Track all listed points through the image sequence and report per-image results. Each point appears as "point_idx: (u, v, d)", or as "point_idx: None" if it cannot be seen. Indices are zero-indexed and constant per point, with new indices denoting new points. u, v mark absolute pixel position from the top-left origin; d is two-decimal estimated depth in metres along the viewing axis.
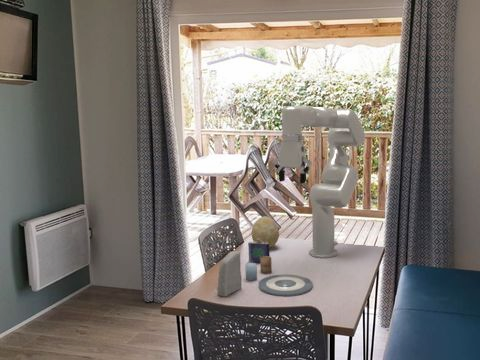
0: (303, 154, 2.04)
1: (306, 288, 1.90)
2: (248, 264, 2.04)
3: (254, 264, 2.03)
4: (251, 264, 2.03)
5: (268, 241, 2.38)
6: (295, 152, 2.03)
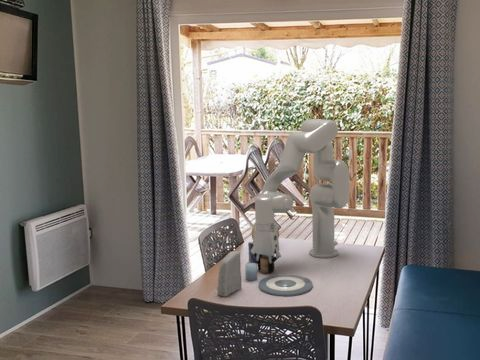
0: (276, 242, 2.07)
1: (306, 288, 1.90)
2: (248, 264, 2.04)
3: (254, 264, 2.03)
4: (251, 264, 2.03)
5: None
6: (267, 241, 2.06)
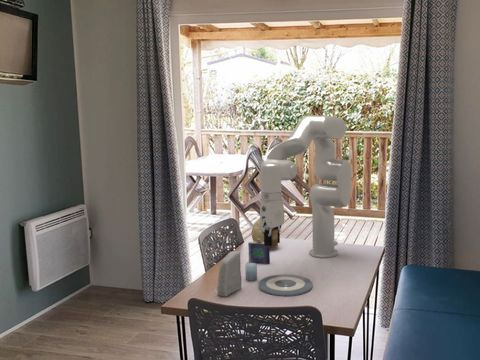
0: (264, 214, 1.91)
1: (306, 288, 1.90)
2: (248, 264, 2.04)
3: (254, 264, 2.03)
4: (252, 264, 2.03)
5: None
6: None
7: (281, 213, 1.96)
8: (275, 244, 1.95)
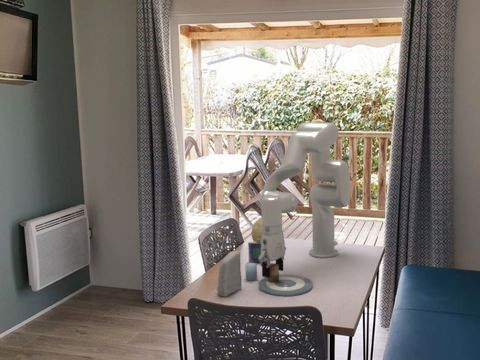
0: (265, 247, 1.93)
1: (306, 288, 1.90)
2: (248, 264, 2.04)
3: (254, 264, 2.03)
4: (252, 264, 2.03)
5: None
6: None
7: (282, 245, 1.97)
8: (276, 279, 1.98)
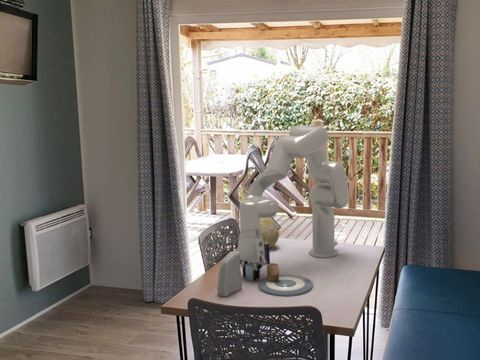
0: (261, 249, 1.99)
1: (306, 288, 1.90)
2: (248, 264, 2.04)
3: None
4: (251, 264, 2.03)
5: (268, 241, 2.38)
6: (252, 247, 1.99)
7: None
8: (276, 279, 1.98)
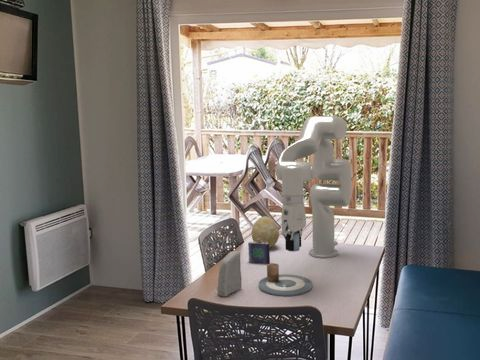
0: (286, 218, 1.85)
1: (306, 288, 1.90)
2: (293, 233, 1.91)
3: (293, 234, 1.89)
4: None
5: (268, 241, 2.38)
6: None
7: (303, 216, 1.90)
8: (276, 279, 1.98)
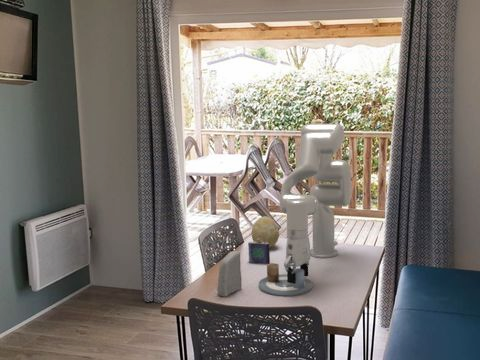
0: (290, 252, 1.86)
1: (306, 288, 1.90)
2: (298, 269, 1.93)
3: (298, 271, 1.90)
4: (297, 270, 1.91)
5: (268, 241, 2.38)
6: None
7: (307, 250, 1.91)
8: (276, 279, 1.98)
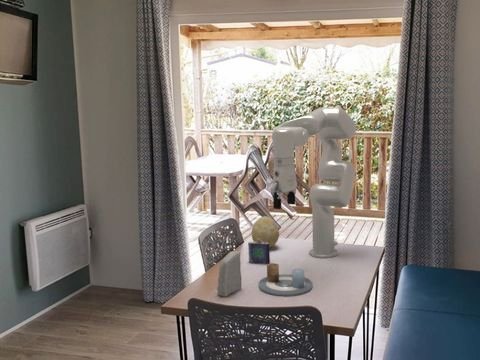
0: (277, 179, 1.95)
1: (306, 288, 1.90)
2: (298, 269, 1.93)
3: (298, 271, 1.90)
4: (297, 270, 1.91)
5: (268, 241, 2.38)
6: None
7: (293, 179, 1.99)
8: (276, 279, 1.98)
